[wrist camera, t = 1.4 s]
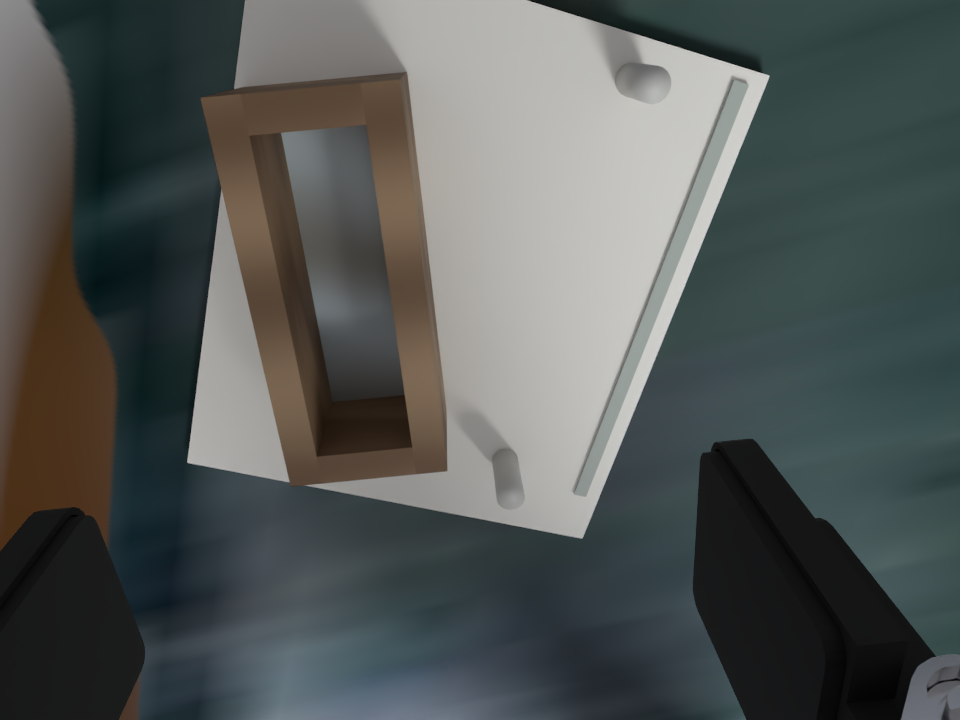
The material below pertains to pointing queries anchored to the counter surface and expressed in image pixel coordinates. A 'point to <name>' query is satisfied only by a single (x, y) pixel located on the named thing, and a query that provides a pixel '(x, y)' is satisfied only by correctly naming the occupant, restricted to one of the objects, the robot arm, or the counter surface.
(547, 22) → the wall board
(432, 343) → the frame
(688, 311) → the counter surface
